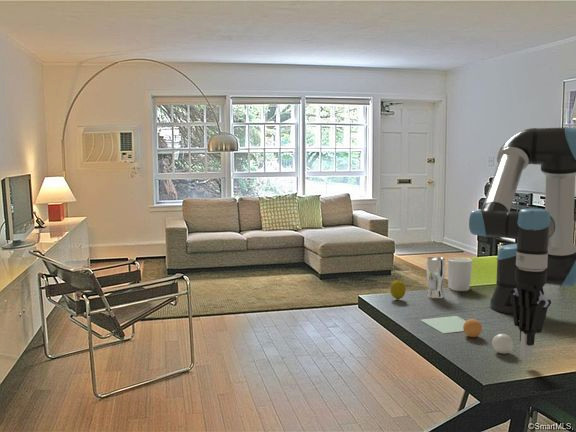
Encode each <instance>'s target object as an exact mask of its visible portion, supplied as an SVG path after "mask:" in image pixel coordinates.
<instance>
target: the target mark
mask: <svg viewBox="0 0 576 432" xmlns="http://www.w3.org/2000/svg"><path fill="white" fill-rule="evenodd" d="M419 321H421V322H422V323H424V324H426V325H427V326H429V327H431V328H433V329H434V330H436V331H438V332H439V333H441V334H444V335H445V334H451V333H452V334H453V333H461V332H464V330H463V325H464V323H465V322H466V321H467V320H465V319H463V318H462V317H460V316H457V315H452V316H444V317H443V316H442V317H433V318H423V319H419Z"/></svg>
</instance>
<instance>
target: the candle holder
mask: <svg viewBox="0 0 576 432" xmlns="http://www.w3.org/2000/svg"><path fill="white" fill-rule="evenodd" d="M473 262H474V260H473V259H471V258H468V257H462V256H461V257H460V256H459V257H458V256H454V257H448V258H447V287H448V289H449V288H451V289H452V291H456V292H457V291H458V292H467V291H469V290H470V288H471V280H472V279H471V278H472V268H473ZM451 289H450V290H451Z"/></svg>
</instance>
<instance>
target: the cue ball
mask: <svg viewBox="0 0 576 432" xmlns="http://www.w3.org/2000/svg"><path fill="white" fill-rule="evenodd" d="M492 347H493V349H494V351H495V352H497V353H499V354H500V355H501V354H503V355H504V354H508V353H510V352H511V351H512V350H513V348H514V342H513V339H512V338H511V336H509V335H508V334H505V333H498V334H496V335H495V336H494V337H493V338H492Z"/></svg>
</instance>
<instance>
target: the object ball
mask: <svg viewBox="0 0 576 432" xmlns="http://www.w3.org/2000/svg"><path fill="white" fill-rule="evenodd" d="M465 321H466V322H465V323H464V325H463V330H464V331H463V332H464V334H465V335H466V336H468V337H470V338H477V337H479V336H480V335H481V334H482V331H483V326H482V324H481V322H480V321H479V320H478V319H475V318H470V319H469V318H468V319H466V320H465Z"/></svg>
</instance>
